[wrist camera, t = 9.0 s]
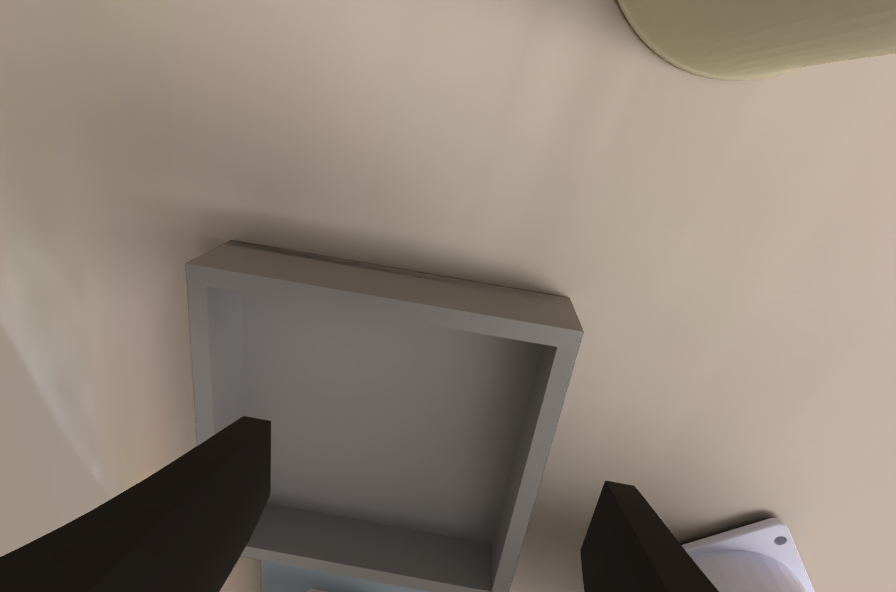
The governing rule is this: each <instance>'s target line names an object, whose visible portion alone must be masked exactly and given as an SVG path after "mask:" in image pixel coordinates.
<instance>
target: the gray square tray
mask: <svg viewBox="0 0 896 592" xmlns="http://www.w3.org/2000/svg"><path fill="white" fill-rule="evenodd" d="M185 265H186V280H187V295H188V311H189V326H190V342H191V357H192V373H193V388H194V403H195V419H196V434H197V446H198V445H200V444H201V443H203V442H204V441H206V440H207V439H209V438H210V437H212V436H213V435H215V434H216V433H218V432H219V431H221V430H222V429H224V428H225V427H227V426H229V425H230V424H232V423H233V422H235V421H236V420H238V419H239V418H241V417H243V416H247V417H252V418H258V419H264V420H269V421H271V494H270V496H269V498H268V501H267V503H266V505H265V507H264V510H263V512H262V514H261V516H260V519H259V521H258V523H257V525H256V527H255V529H254V532H253V534H252V536H251V538H250V540H249V542H248V544H247V545H246V547H245V549H244V550H243V552H242V554H241V556H240V557H246V558H251V559H256V560H262V561H267V562H272V563H278V564H283V565H288V566H294V567H299V568H305V569H310V570H315V571H321V572H326V573H331V574H337V575H342V576H347V577H353V578H358V579H364V580H369V581H374V582H380V583H385V584H390V585H396V586H401V587H406V588H412V589H417V590H423V591H428V592H509V589H510V586H511V582H512V579H513V575H514V572H515V568H516V565H517V561H518V558H519V555H520V551H521V548H522V544H523V541H524V537H525V534H526V530H527V527H528V523H529V520H530V516H531V513H532V509H533V506H534V502H535V499H536V496H537V492H538V489H539V485H540V482H541V478H542V475H543V471H544V468H545V464H546V461H547V457H548V454H549V450H550V447H551V444H552V440H553V437H554V433H555V430H556V426H557V423H558V419H559V416H560V412H561V409H562V405H563V402H564V398H565V395H566V392H567V388H568V385H569V381H570V378H571V374H572V371H573V367H574V364H575V360H576V357H577V353H578V350H579V346H580V343H581V339H582V336H583V333H584V331H583V329H582V327H581V324H580V322H579V319H578V317H577V315H576V312H575V310H574V307H573V305H572V303H571V300H570V298H567V297H561V296H555V295H549V294H544V293H538V292H532V291H526V290H520V289H514V288H508V287H502V286H497V285H491V284H485V283H479V282H473V281H467V280H461V279H455V278H450V277H444V276H438V275H432V274H426V273H420V272H414V271H408V270H403V269H397V268H391V267H385V266H379V265H373V264H367V263H362V262H356V261H350V260H344V259H338V258H332V257H326V256H320V255H315V254H309V253H303V252H297V251H291V250H285V249H279V248H273V247H268V246H262V245H256V244H250V243H244V242H238V241H232V240H231V241H229V242H227V243H225V244H223V245H221V246H219V247H217V248H215V249H213V250H211V251H209V252H207V253H205V254H203V255H201V256H199V257H197V258H195V259H193V260H191V261H189V262H187V263H185Z"/></svg>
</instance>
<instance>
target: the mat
mask: <svg viewBox="0 0 896 592" xmlns="http://www.w3.org/2000/svg"><path fill="white" fill-rule="evenodd" d="M309 588H312V589H317V590H322V591H327V592H428V591H423V590H417V589H412V588H406V587H401V586H396V585H390V584H385V583H380V582H374V581H369V580H364V579H358V578H353V577H347V576H342V575H337V574H331V573H326V572H321V571H315V570H310V569H305V568H299V567H294V566H288V565H283V564H278V563H272V562H267V561H262V560H261V592H308V591H309Z"/></svg>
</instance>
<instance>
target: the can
mask: <svg viewBox="0 0 896 592" xmlns="http://www.w3.org/2000/svg"><path fill="white" fill-rule="evenodd" d="M618 3H619V5H620V8H621V10H622V11H623V13H624V15H625V17H626V19H627V20H628V22H629V23H630V25H631V26H632V28H633V29H634V31H635V32H636V33H637V35H638V36H639V37H640V38H641V39H642V40H643V41H644V42H645V43H646V45H647V46H648V47H649V48H650V49H651V50H653V51H654V52H655V53H656V54H658V55H659V56H660V57H661V58H663V59H664V60H666V61H668V62H669V63H671V64H672V65H674V66H676V67H678V68H680V69H682V70H685V71H687V72H690V73H693V74H695V75H699V76H703V77H707V78H712V79H718V80H731V81H741V80H754V79H761V78H767V77H771V76H775V75H779V74H783V73H786V72H789V71H792V70H795V69H798V68H800V67H806V66H811V65H818V64H825V63H831V62H838V61H845V60H852V59H859V58H866V57H873V56H880V55H888V54H895V53H896V0H618Z"/></svg>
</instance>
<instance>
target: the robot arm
mask: <svg viewBox="0 0 896 592" xmlns="http://www.w3.org/2000/svg"><path fill="white" fill-rule="evenodd" d="M270 494H271V421H269V420H264V419H258V418H252V417H247V416H243V417H241V418H239V419H238V420H236V421H235V422H233V423H232V424H230V425H229V426H227V427H225V428H224V429H222V430H221V431H219V432H218V433H216V434H215V435H213V436H212V437H210V438H209V439H207V440H206V441H204V442H203V443H201V444H200V445H198V446H197V447H195V448H193V449H192V450H190V451H189V452H187V453H186V454H184V455H183V456H181V457H180V458H178V459H177V460H175V461H173V462H172V463H170V464H169V465H167V466H165V467H164V468H162V469H161V470H159V471H158V472H156V473H154V474H153V475H151V476H150V477H148V478H146V479H145V480H143V481H141V482H140V483H138V484H136V485H135V486H133V487H131V488H129V489H128V490H126V491H124V492H123V493H121V494H119V495H117V496H116V497H114V498H112V499H111V500H109V501H108V502H106V503H104V504H102V505H100V506H99V507H97V508H95V509H94V510H92V511H90V512H88V513H86V514H85V515H83V516H81V517H79V518H77V519H75V520H73V521H72V522H70V523H68V524H66V525H64V526H62V527H60V528H58V529H56V530H54V531H53V532H51V533H48V534H46V535H45V536H42V537H41V538H38V539H37V540H34V541H33V542H31V543H29V544H27V545H25V546H23V547H21V548H19V549H17V550H15V551H12V552H10V553H8V554H6V555H4V556H2V557H0V592H219V591H220V589H221V588H222V586H223V584H224V583H225V581H226V579H227V578H228V576H229V574H230V573H231V571H232V569H233V567H234V566H235V564H236V562H237V561H238V559H239V557H240V556H241V554H242V552H243V550H244V549H245V547H246V545H247V544H248V542H249V540H250V538H251V536H252V534H253V532H254V529H255V527H256V525H257V523H258V521H259V519H260V516H261V514H262V512H263V510H264V507H265V505H266V503H267V501H268V498H269V496H270ZM581 561H582V572H583V582H584V591H585V592H815V591H814V589H813V586H812V584H811V582H810V579H809V577H808V574H807V572H806V570H805V567H804V565H803V562H802V560H801V558H800V555H799V553H798V551H797V548H796V546H795V543H794V541H793V539H792V536H791V534H790V531H789V529H788V527H787V526H786V525H785V523H784V522H783V521H782V520H781V519H778V518H770V519H766V520H763V521H760V522H756V523H753V524H750V525H746V526H743V527H740V528H736V529H733V530H730V531H726V532H723V533H720V534H716V535H713V536H710V537H707V538H703V539H700V540H697V541H693V542H690V543H687V544H683V545H681V544H680V543H679V542H678V541H677V539H676V538H675V537H674V536H673V534H672V533H671V532H670V530H669V529H668V528H667V527H666V525H665V524H664V523H663V522H662V520H661V519H660V518H659V516H658V515H657V514H656V513H655V511H654V510H653V509H652V507H651V506H650V505H649V504H648V502H647V501H646V500H645V499H644V497H643V496H642V495H641V494H640V492H639V491H638V490H637V489H636V487H635V486H632V485H626V484H621V483H615V482H610V481H605V483H604V486H603V489H602V491H601V494H600V497H599V500H598V503H597V506H596V508H595V511H594V514H593V517H592V520H591V522H590V525H589V528H588V531H587V534H586V537H585V539H584V542H583V545H582V548H581Z"/></svg>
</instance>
